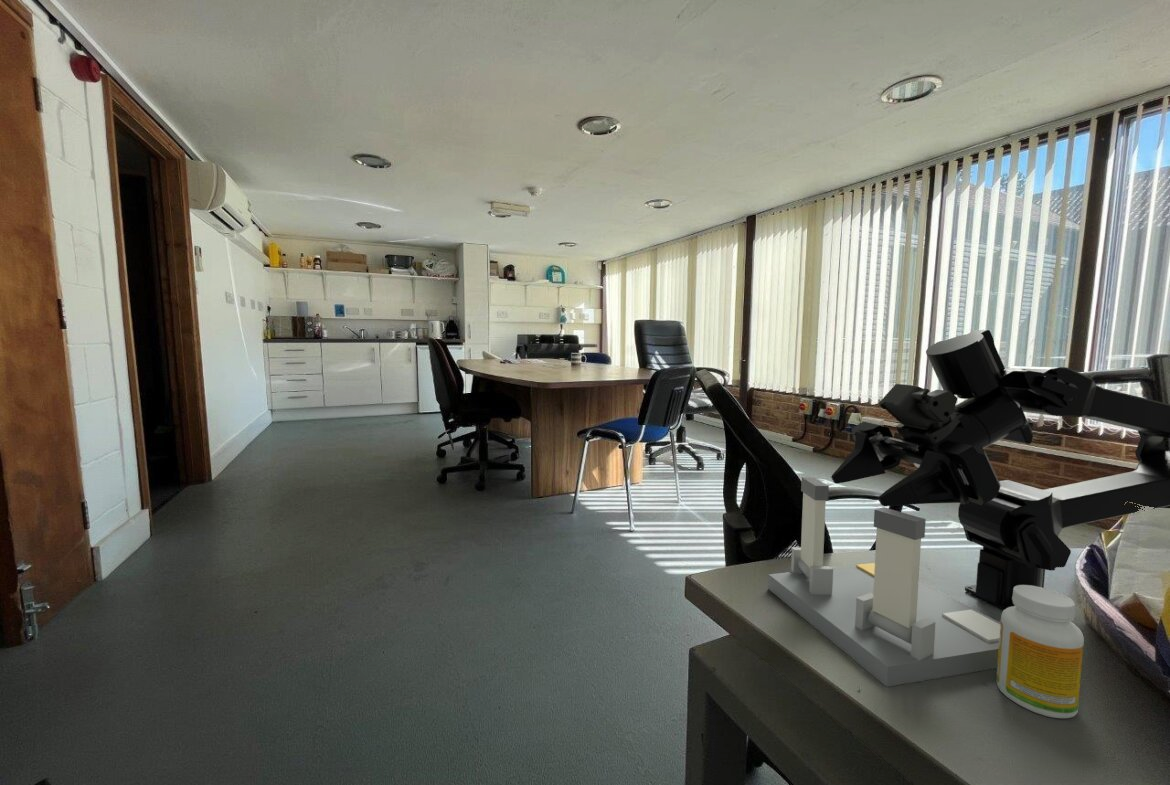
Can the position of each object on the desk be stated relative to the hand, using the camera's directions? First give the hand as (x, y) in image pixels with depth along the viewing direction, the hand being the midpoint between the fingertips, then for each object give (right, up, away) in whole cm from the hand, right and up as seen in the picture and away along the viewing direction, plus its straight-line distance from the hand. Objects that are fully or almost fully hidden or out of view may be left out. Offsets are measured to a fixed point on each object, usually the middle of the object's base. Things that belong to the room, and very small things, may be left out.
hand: (854, 490), depth 58 cm
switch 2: (-1, -12, -9) cm, 15 cm away
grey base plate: (+2, -15, -2) cm, 15 cm away
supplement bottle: (+8, -16, -15) cm, 23 cm away
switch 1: (-4, -11, +3) cm, 12 cm away
